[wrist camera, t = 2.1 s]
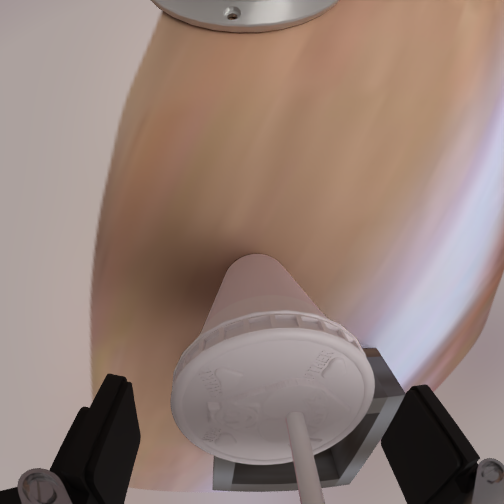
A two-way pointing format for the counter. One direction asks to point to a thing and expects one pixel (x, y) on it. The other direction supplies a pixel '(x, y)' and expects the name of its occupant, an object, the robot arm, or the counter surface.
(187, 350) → the smoothie
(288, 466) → the frame
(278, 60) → the counter surface
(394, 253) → the counter surface
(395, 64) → the counter surface
